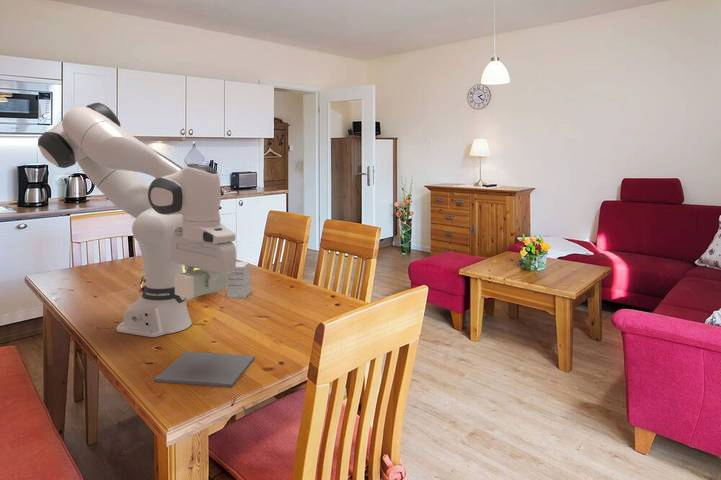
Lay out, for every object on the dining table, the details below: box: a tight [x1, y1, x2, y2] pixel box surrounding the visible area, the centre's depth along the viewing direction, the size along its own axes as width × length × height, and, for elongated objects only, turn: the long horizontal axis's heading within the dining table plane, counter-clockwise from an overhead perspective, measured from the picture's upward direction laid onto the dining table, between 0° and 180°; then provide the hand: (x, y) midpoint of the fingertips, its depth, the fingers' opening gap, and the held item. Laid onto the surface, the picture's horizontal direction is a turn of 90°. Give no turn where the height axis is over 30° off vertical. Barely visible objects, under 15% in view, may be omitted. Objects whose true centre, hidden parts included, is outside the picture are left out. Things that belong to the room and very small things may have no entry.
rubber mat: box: [154, 351, 256, 388], centre depth 123 cm, size 20×16×1 cm
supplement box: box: [226, 261, 252, 299], centre depth 184 cm, size 7×7×13 cm
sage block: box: [175, 269, 227, 299], centre depth 118 cm, size 5×5×12 cm
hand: (201, 285), depth 119 cm, fingers closed on sage block, 5 cm apart
